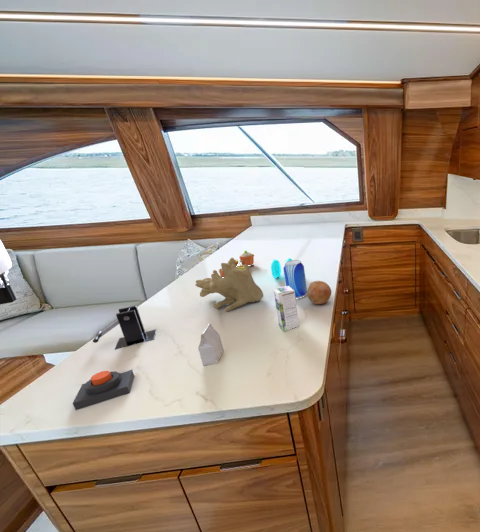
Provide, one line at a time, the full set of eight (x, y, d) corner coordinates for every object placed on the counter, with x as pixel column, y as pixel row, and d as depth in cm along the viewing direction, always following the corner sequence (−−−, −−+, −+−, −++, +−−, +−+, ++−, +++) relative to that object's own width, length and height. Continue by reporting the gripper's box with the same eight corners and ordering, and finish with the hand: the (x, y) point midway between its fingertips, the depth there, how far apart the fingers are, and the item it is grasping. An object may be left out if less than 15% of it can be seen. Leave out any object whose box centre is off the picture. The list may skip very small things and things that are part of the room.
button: (91, 387, 74) (88, 381, 73) (94, 379, 77) (92, 374, 76) (110, 382, 76) (108, 376, 75) (113, 374, 78) (111, 368, 78)
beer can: (292, 292, 137) (287, 259, 132) (310, 292, 136) (305, 259, 131) (284, 300, 129) (279, 265, 124) (303, 300, 129) (299, 265, 123)
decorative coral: (275, 281, 118) (212, 247, 109) (243, 330, 115) (175, 299, 106) (275, 275, 142) (223, 247, 133) (248, 316, 138) (193, 290, 129)
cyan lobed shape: (293, 279, 153) (290, 261, 149) (272, 281, 151) (269, 263, 147) (295, 273, 162) (292, 255, 159) (275, 275, 160) (272, 257, 157)
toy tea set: (229, 265, 178) (225, 249, 175) (257, 262, 182) (254, 247, 178) (215, 280, 154) (211, 262, 151) (248, 277, 158) (244, 259, 155)
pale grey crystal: (223, 350, 94) (216, 322, 91) (217, 363, 88) (209, 333, 85) (210, 352, 93) (203, 324, 90) (203, 365, 87) (194, 335, 84)
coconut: (337, 300, 128) (335, 278, 124) (321, 310, 119) (318, 287, 116) (319, 296, 132) (317, 275, 129) (303, 305, 124) (300, 283, 120)
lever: (97, 344, 92) (89, 340, 91) (102, 336, 97) (94, 331, 96) (134, 317, 96) (127, 313, 94) (137, 310, 100) (130, 306, 99)
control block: (75, 410, 71) (69, 397, 70) (85, 391, 78) (79, 378, 77) (129, 393, 77) (124, 380, 75) (134, 376, 83) (130, 364, 82)
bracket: (115, 352, 94) (102, 319, 91) (120, 340, 101) (108, 309, 97) (155, 341, 100) (144, 310, 96) (157, 331, 106) (147, 301, 102)
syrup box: (278, 325, 108) (272, 289, 103) (294, 320, 112) (288, 284, 107) (283, 332, 104) (277, 294, 99) (300, 326, 107) (294, 289, 103)
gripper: (-38, 224, 70) (-3, 296, 75) (-86, 235, 58) (-39, 319, 64) (10, 220, 73) (40, 289, 79) (-25, 230, 62) (14, 310, 67)
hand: (5, 302), depth 71 cm, fingers closed
